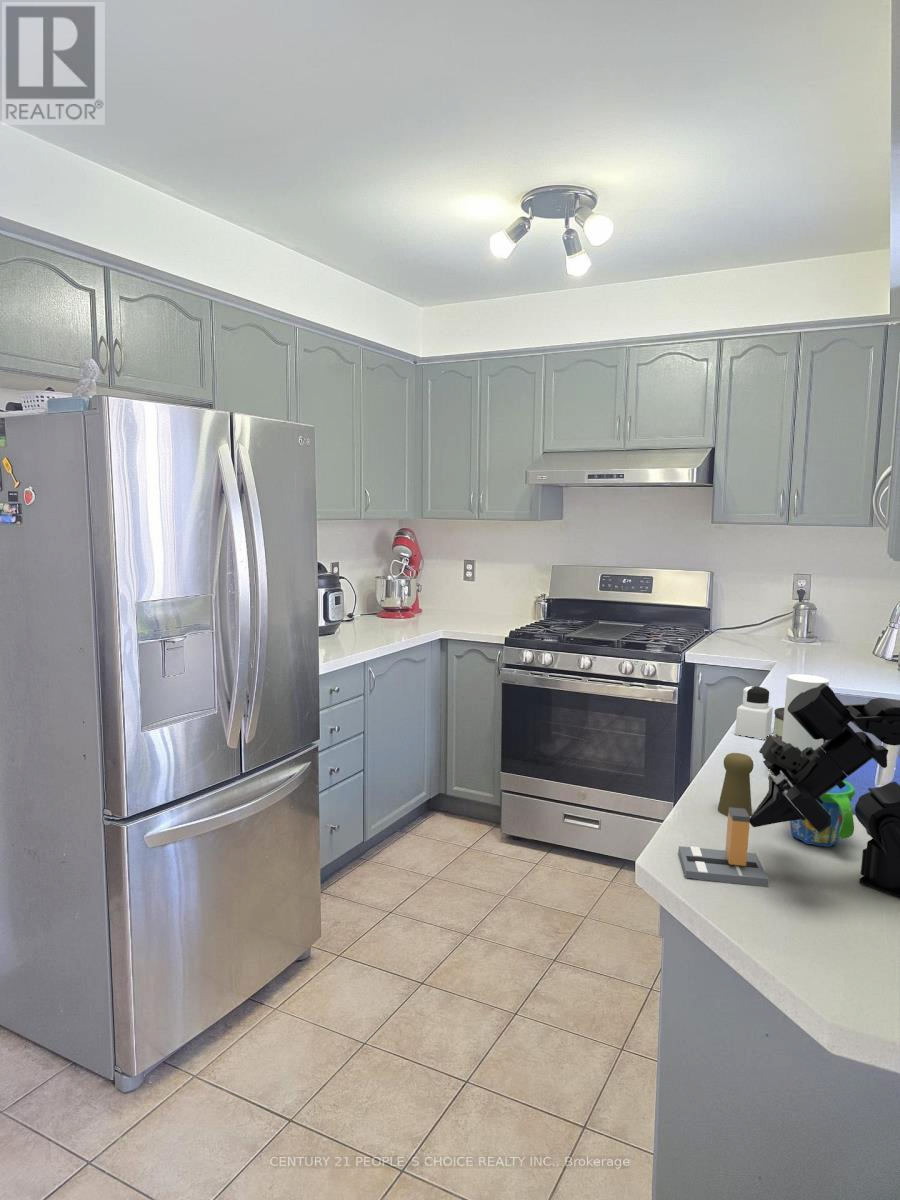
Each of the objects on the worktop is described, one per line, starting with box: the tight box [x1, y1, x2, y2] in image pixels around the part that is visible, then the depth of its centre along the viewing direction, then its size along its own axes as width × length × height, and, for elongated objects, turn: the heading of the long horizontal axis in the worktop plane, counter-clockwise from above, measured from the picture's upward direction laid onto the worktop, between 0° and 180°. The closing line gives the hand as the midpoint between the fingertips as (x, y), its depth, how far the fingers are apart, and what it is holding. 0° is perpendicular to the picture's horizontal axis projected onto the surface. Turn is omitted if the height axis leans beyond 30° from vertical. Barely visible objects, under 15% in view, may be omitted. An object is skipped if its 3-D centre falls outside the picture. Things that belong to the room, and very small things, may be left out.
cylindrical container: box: [782, 673, 830, 751], centre depth 151 cm, size 7×7×25 cm
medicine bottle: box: [734, 685, 773, 740], centre depth 200 cm, size 7×7×12 cm
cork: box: [717, 752, 755, 817], centre depth 149 cm, size 6×6×11 cm
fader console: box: [677, 845, 770, 887], centre depth 125 cm, size 12×9×1 cm
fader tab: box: [724, 807, 750, 866], centre depth 125 cm, size 2×4×9 cm
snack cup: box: [789, 779, 856, 847], centre depth 138 cm, size 16×10×10 cm
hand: (750, 824), depth 124 cm, fingers closed
